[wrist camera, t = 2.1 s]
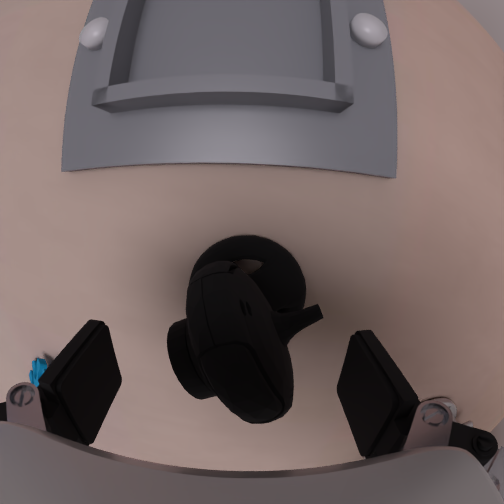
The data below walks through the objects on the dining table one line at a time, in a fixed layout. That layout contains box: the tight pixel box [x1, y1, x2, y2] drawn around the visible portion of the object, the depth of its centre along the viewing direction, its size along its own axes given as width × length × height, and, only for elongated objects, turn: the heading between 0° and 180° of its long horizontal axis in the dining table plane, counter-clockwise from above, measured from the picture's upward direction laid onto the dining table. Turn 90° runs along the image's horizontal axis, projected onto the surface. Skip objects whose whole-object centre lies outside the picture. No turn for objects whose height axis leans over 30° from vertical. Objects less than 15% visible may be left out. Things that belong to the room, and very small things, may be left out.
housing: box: [61, 0, 397, 178], centre depth 12 cm, size 22×20×4 cm
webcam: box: [167, 236, 323, 424], centre depth 13 cm, size 8×8×10 cm
